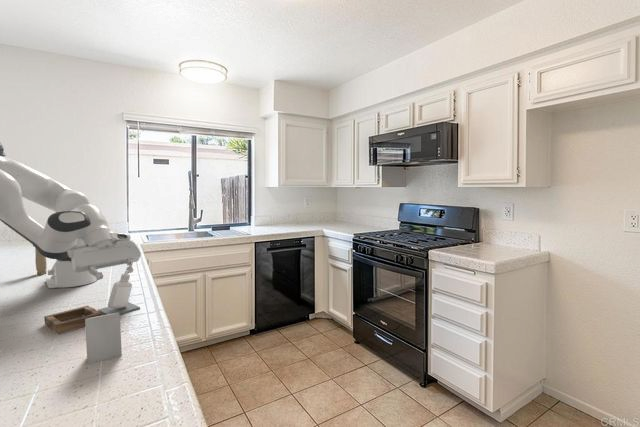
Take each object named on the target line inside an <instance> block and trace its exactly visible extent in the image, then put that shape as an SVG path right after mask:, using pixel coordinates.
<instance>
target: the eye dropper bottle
mask: <svg viewBox="0 0 640 427" xmlns="http://www.w3.org/2000/svg"><path fill="white" fill-rule="evenodd" d="M130 276H131V275H130V273H128V270H126V269H125V271H124V273H121V276H120V279H119V281H116V282H114V284H112V289H111V292H110V296H109V298H108V302H107V303H108V304H107V307H110V308H123V307H126V306H127V303H128V302H129V300H130V295H131V291H132V289H133V288H132V287H133V284H132V282H130V278H131V277H130Z"/></svg>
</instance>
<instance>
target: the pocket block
mask: <svg viewBox="0 0 640 427" xmlns="http://www.w3.org/2000/svg"><path fill="white" fill-rule="evenodd" d="M97 316H103V314H102V313H101V312H99V311H98V309H95V308H94V307H91V306H90V305H83V306H80V307H77V308H73V309H69V310H64V311H61V312H60V311H59V312H56V313H52V314H49V315H45V316H44V317H43V318H44V325H45V326H46V327H47V328H48V329H50V330H51V331H52V332H54V333H56V335H60V334H64V333H68V332H71V331H74V330H76V329H81V328H83V327H85V319H87V318H92V317H97Z"/></svg>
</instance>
